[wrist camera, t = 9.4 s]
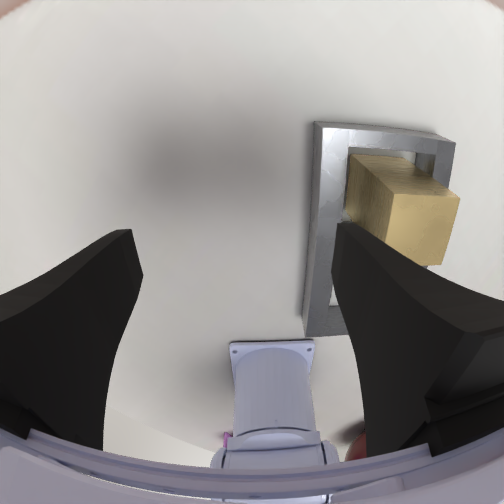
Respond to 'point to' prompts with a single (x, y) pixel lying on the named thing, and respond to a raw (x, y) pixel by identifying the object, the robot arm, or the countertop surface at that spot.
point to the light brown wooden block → (401, 206)
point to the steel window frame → (332, 198)
